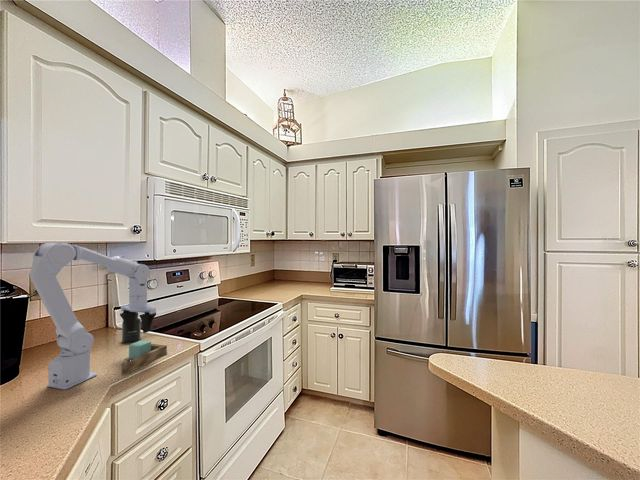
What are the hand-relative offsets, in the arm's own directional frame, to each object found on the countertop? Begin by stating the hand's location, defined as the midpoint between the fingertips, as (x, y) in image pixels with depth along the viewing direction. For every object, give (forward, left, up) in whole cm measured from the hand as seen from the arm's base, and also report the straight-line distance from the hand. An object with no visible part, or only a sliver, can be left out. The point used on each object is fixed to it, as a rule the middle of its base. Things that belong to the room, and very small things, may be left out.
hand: (138, 331), depth 106 cm
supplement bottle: (+13, +18, -10) cm, 25 cm away
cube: (0, -1, -10) cm, 10 cm away
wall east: (+5, -2, -10) cm, 11 cm away
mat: (0, -1, -10) cm, 10 cm away
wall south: (-4, -7, -10) cm, 13 cm away
